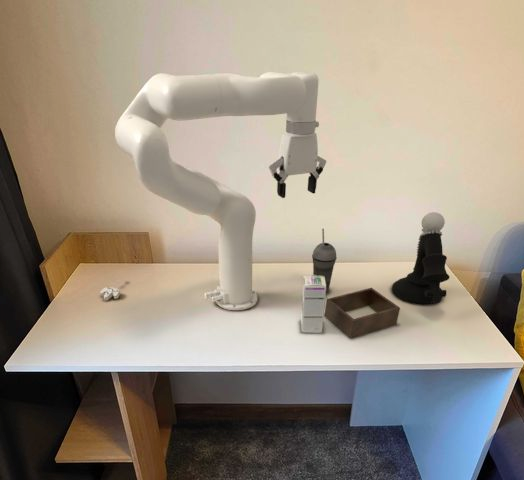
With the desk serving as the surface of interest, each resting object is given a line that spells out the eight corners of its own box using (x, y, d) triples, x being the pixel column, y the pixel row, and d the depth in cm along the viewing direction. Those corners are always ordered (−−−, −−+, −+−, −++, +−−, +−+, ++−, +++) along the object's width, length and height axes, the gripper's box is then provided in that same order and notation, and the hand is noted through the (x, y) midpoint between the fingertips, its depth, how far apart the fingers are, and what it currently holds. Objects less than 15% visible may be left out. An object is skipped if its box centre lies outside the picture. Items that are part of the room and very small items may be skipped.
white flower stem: (98, 300, 134) (96, 293, 133) (109, 282, 144) (107, 275, 142) (117, 301, 134) (115, 293, 133) (127, 283, 144) (126, 275, 142)
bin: (350, 338, 121) (353, 321, 117) (324, 315, 130) (326, 298, 126) (396, 324, 126) (400, 307, 123) (368, 303, 135) (371, 287, 132)
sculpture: (433, 281, 147) (454, 205, 132) (459, 321, 128) (486, 237, 113) (386, 281, 147) (402, 204, 132) (405, 320, 128) (426, 236, 113)
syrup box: (322, 333, 122) (327, 285, 114) (300, 332, 122) (304, 285, 114) (320, 321, 127) (325, 275, 118) (299, 321, 127) (303, 274, 118)
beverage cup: (331, 298, 138) (339, 235, 126) (307, 295, 139) (313, 232, 127) (333, 286, 144) (340, 225, 132) (310, 284, 145) (315, 223, 133)
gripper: (320, 122, 124) (315, 186, 134) (264, 127, 117) (263, 194, 127) (336, 128, 118) (329, 194, 128) (277, 133, 112) (275, 202, 122)
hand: (296, 194), depth 128 cm, fingers open, 9 cm apart
